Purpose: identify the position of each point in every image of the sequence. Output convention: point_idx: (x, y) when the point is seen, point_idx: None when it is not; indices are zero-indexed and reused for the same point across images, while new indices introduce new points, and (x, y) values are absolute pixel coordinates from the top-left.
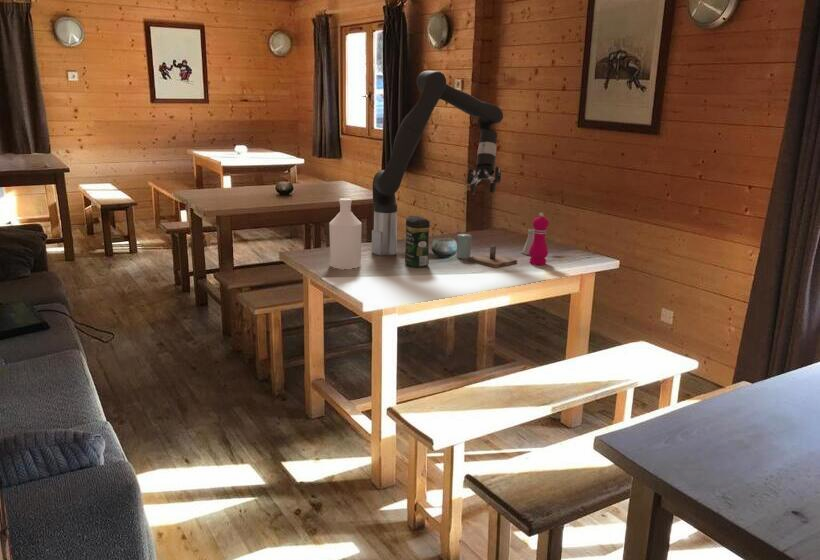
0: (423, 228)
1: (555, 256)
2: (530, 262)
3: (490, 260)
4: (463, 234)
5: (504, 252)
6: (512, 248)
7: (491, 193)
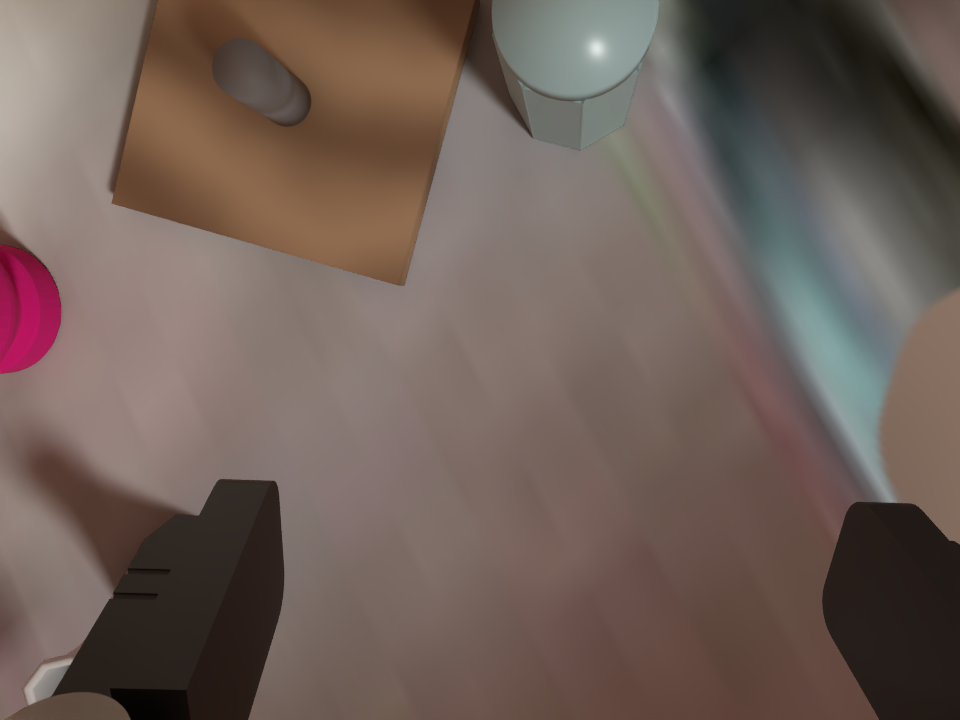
0: None
1: (5, 629)
2: (32, 259)
3: (269, 29)
4: (605, 37)
5: (381, 502)
6: (400, 695)
7: (277, 560)
